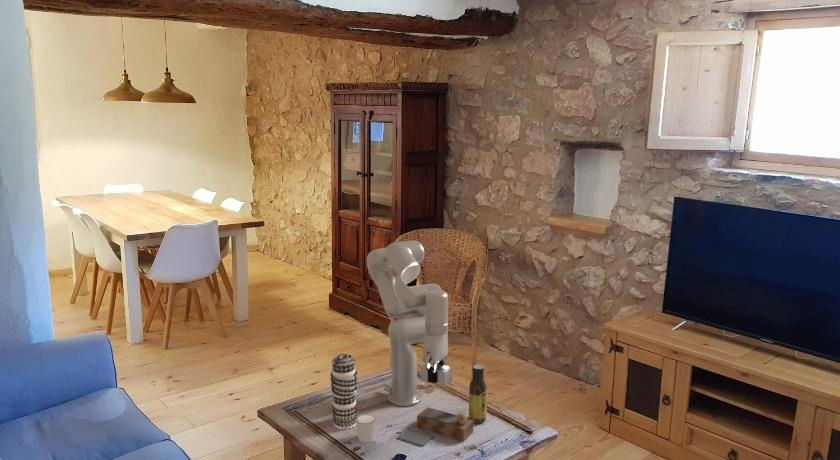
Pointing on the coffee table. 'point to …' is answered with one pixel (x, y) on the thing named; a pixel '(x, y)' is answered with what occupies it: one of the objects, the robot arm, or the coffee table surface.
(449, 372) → the grey box with knob
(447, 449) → the coffee table surface
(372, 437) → the white cylinder
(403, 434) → the rubber mat
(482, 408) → the sauce bottle
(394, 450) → the coffee table surface
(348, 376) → the model tower building
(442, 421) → the hand plane
